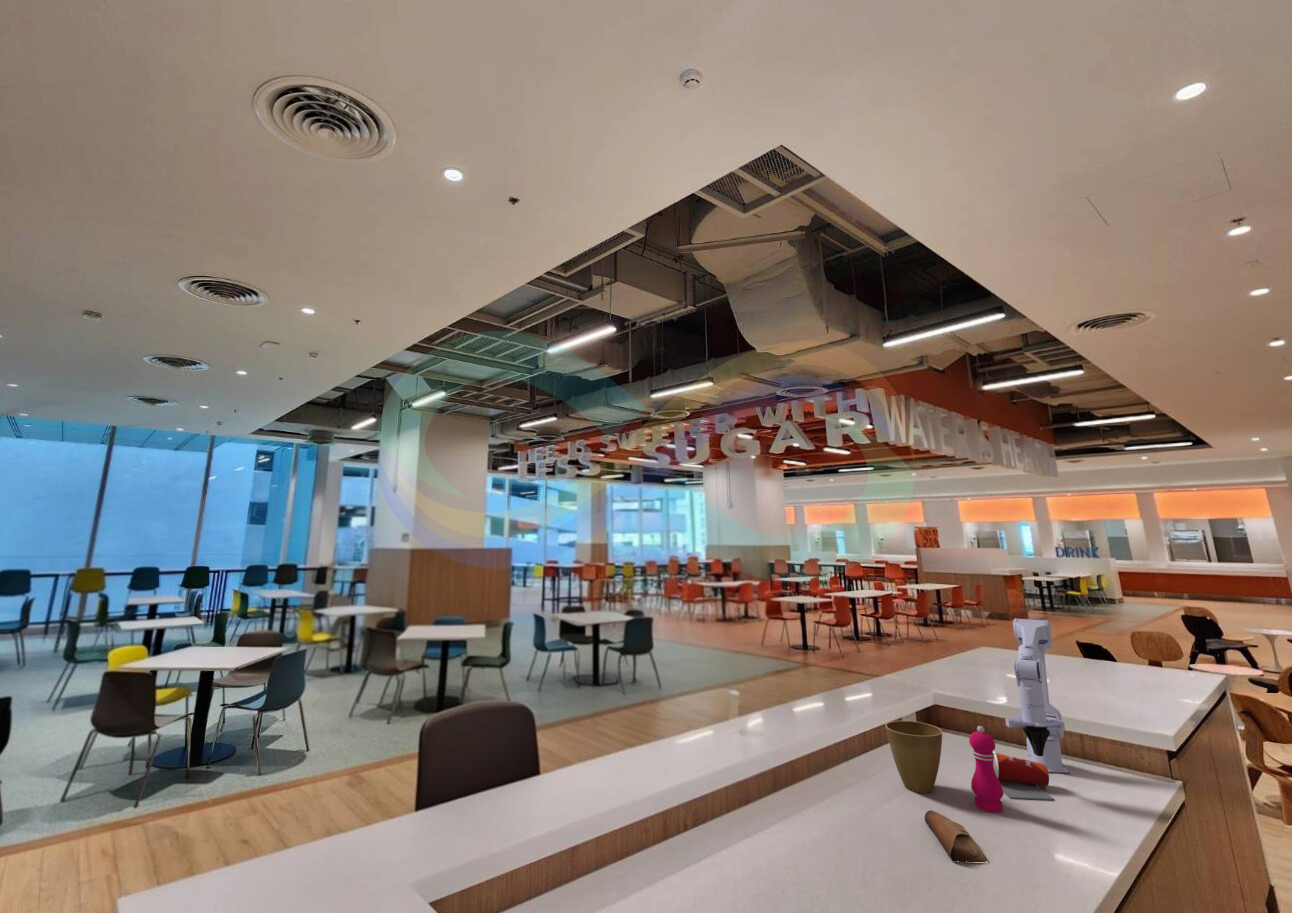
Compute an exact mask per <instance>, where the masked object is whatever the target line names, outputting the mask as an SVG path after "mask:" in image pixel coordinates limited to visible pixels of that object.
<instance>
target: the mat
mask: <svg viewBox="0 0 1292 913" xmlns="http://www.w3.org/2000/svg"><path fill="white" fill-rule="evenodd" d="M999 782H1000V783H1001V786H1002V789H1003V794H1004V795H1006V796H1007V797H1008V799H1011V800H1013V799H1014V800H1028V801H1029V800H1030V801H1031V800H1035V801H1051V802H1052V801H1053V802H1054V801H1055V800H1056V799H1055V798H1054V797H1052V796H1051V795H1050V794H1049V793H1048V792H1046V791H1045V790H1044V789H1042V788H1041V787H1040V786H1039V785H1031V784H1024V783H1016V782H1009V781H1002V780H999Z"/></svg>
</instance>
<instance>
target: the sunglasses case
mask: <svg viewBox="0 0 1292 913" xmlns="http://www.w3.org/2000/svg"><path fill="white" fill-rule="evenodd" d="M924 821H925V823H926V825H927V826H928V828H929V829H930V830H931V831H932V833H933V835H934V836H935V838H937V841H939V843H940V845H941V846H942V848H943V850H944V851H945V853H946V854H947V856H948V857H949V859H950V860H951V861H952V862H953V861H959V862H966V861H967V862H986V861H988V862H989V860H988V858H987V857H986V856H985V854H984V853H983V851H982V850H981V849H980V847H979V846H978V845H977V843H976V842H975V841H974V840H973V838H972V837H971V836H970V834H969V832H968V831H967V830H966V829H965V828H964V826H963V825H962V824H960V823H958V822H955V821H954V820H951V819H950V818H948V817H946V816H945V815H943V814H941V813H939V812H937V811H934V810H931V809H929V810H928V811H926V812H925V814H924Z"/></svg>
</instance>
